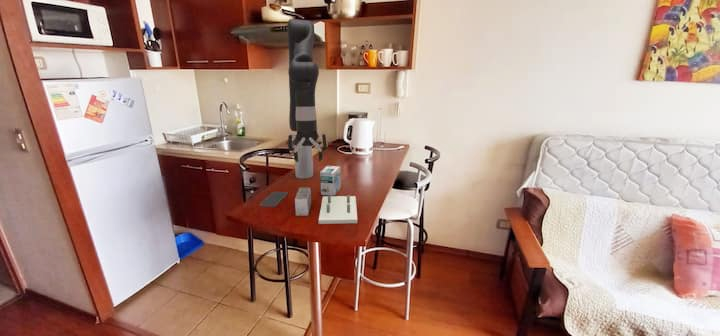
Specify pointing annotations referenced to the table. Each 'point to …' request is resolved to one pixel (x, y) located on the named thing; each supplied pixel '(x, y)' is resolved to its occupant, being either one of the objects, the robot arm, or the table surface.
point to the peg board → (338, 210)
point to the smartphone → (274, 199)
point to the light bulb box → (330, 180)
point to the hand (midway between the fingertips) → (308, 161)
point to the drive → (303, 201)
